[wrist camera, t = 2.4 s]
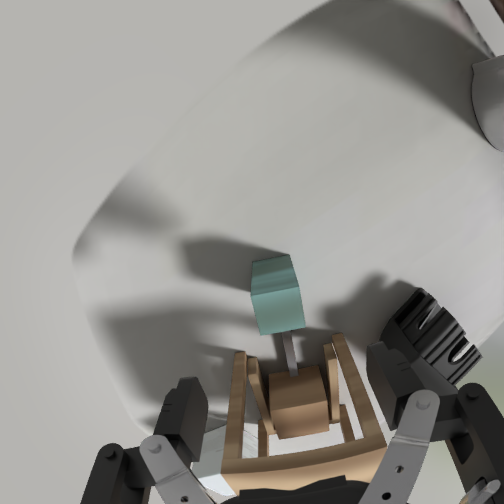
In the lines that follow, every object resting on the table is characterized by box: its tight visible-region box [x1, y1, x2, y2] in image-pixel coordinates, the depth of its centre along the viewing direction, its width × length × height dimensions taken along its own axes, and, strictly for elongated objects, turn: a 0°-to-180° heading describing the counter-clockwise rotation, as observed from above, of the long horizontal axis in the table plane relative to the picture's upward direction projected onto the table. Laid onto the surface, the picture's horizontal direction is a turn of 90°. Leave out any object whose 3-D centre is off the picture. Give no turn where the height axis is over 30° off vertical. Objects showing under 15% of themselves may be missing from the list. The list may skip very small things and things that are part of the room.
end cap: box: [379, 288, 482, 396], centre depth 22 cm, size 10×7×7 cm
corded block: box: [251, 255, 329, 439], centre depth 23 cm, size 17×5×6 cm, turn 12°
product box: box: [192, 425, 258, 496], centre depth 27 cm, size 6×6×7 cm
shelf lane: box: [220, 333, 387, 496], centre depth 21 cm, size 12×10×13 cm
